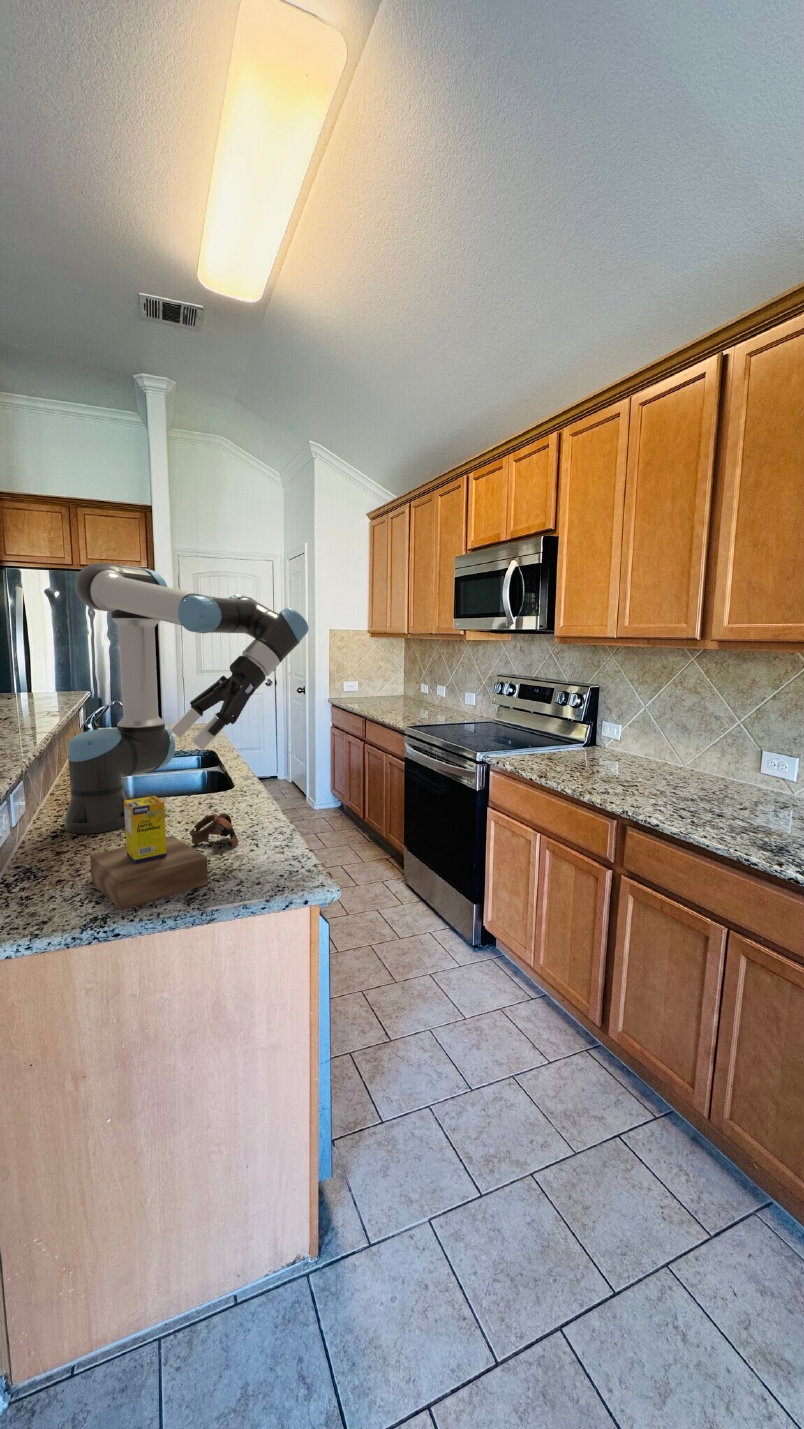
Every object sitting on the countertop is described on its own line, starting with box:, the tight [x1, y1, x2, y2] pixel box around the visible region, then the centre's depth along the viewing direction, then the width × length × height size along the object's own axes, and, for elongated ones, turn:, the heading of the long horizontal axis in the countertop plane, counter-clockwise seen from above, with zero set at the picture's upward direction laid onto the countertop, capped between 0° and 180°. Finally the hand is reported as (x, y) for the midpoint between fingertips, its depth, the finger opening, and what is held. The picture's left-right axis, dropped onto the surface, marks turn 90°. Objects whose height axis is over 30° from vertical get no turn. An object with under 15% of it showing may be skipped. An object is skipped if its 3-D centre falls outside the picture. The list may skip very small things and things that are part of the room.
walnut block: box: [89, 835, 209, 911], centre depth 111 cm, size 16×16×6 cm
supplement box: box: [124, 795, 167, 864], centre depth 110 cm, size 6×6×11 cm
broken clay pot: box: [189, 812, 239, 849], centre depth 132 cm, size 12×10×8 cm
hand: (185, 739), depth 119 cm, fingers open, 13 cm apart
